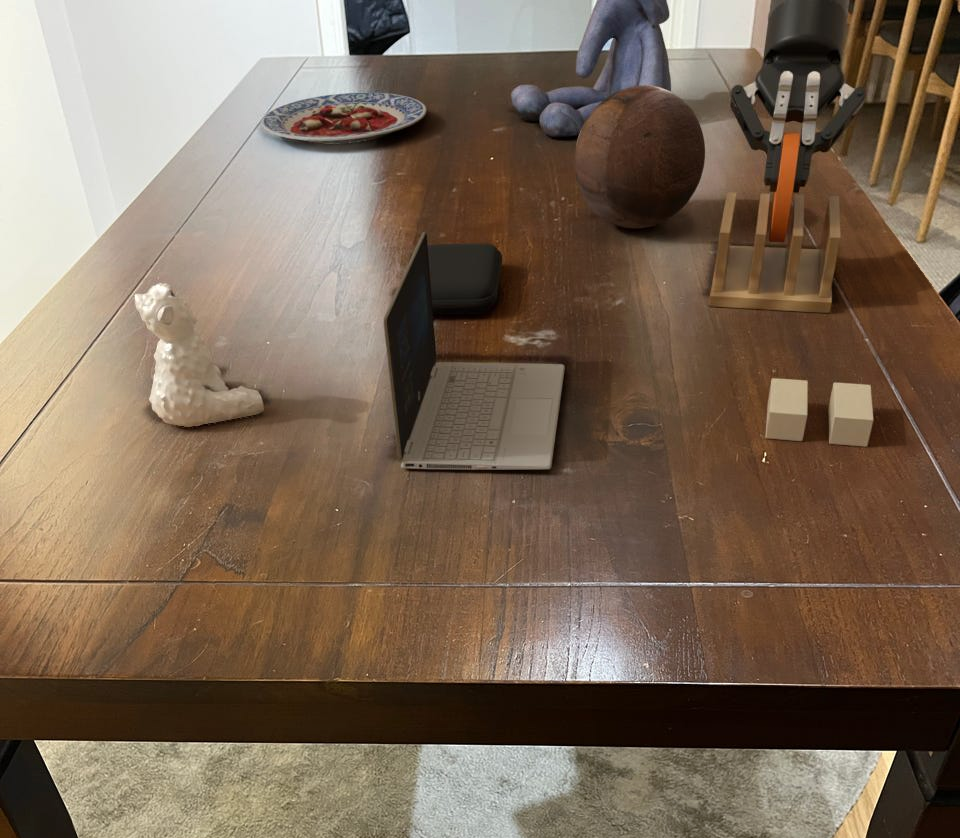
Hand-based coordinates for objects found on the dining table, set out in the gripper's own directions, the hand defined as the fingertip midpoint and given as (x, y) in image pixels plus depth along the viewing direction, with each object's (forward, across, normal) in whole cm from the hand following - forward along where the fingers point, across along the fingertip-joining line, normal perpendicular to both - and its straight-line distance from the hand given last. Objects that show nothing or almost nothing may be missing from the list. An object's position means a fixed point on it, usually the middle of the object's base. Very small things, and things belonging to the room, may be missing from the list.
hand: (785, 187), depth 99 cm
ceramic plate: (-31, -67, +46) cm, 87 cm away
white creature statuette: (+32, -49, -17) cm, 61 cm away
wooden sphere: (-5, -16, +20) cm, 26 cm away
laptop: (+29, -23, -15) cm, 40 cm away
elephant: (-37, -28, +53) cm, 71 cm away
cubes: (+27, +5, -12) cm, 30 cm away
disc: (+3, 0, +6) cm, 6 cm away
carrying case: (+11, -34, +4) cm, 35 cm away
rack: (+6, 0, +9) cm, 11 cm away
